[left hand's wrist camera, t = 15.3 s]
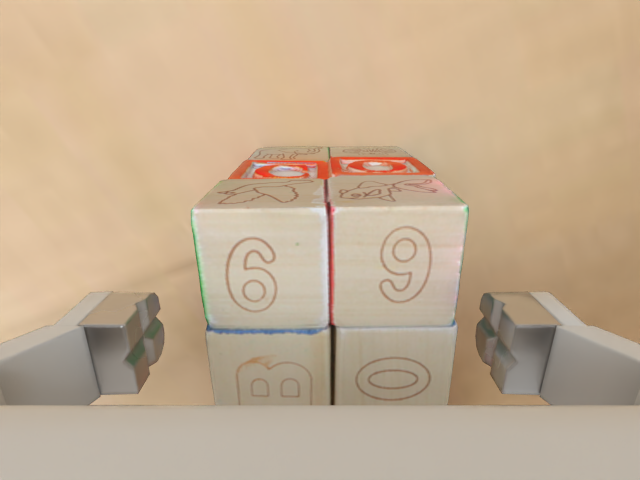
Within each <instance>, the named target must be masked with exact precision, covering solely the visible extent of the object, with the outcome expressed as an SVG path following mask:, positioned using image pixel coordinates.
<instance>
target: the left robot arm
mask: <svg viewBox="0 0 640 480" xmlns="http://www.w3.org/2000/svg"><path fill="white" fill-rule="evenodd" d="M159 310H160V304H159V299H158V296H157V295H156V294H155V293H144V292H113V291H112V292H90V293H89V294H88V295H87V296H86V297H85V298H84V299H83V300H82V301H80V302H79V303H78V304H77V305H76V306H75V307H74V308H73V309H71V310H70V311H69V312H68V313H67V314H66V315H65V316H64V317H62V318H61V319H60V320H59V321H58V322H57V323H56V324H55V325H53V326H44V327H42V328H39V329H37V330H34V331H32V332H29V333H27V334H24V335H22V336H19V337H16V338H14V339H11V340H9V341H6V342H4V343H1V344H0V480H640V344H639V343H636V342H634V341H631V340H629V339H626V338H623V337H621V336H618V335H616V334H613V333H611V332H608V331H606V330H603V329H601V328H598V327H596V326H587V325H585V324H584V323H583V322H582V321H581V320H580V319H579V318H578V317H577V316H575V315H574V314H573V313H572V312H571V311H570V310H569V309H568V308H566V307H565V306H564V305H563V304H562V303H561V302H560V301H559V300H557V299H556V298H555V297H554V296H553V295H552V294H551V293H549V292H545V291H543V292H499V293H485V294H484V295H483V297H482V299H481V303H480V310H481V312H482V313H483V315H484V318H483V319H482V320H481V321H480V322H479V323H478V324H477V329H476V346H477V350H478V353H479V356H480V357H481V359H482V361H483V362H484V363H486V364H487V365H489V366H491V372H490V375H491V376H492V378H493V380H494V381H495V383H496V385H497V386H498V388H499V390H500V391H501V393H502V394H529V395H540V397H541V398H542V399H544V400H545V401H546V402H548V403H549V404H551V405H90V404H91V403H92V402H94V401H95V400H96V399H98V398H99V397H100V395H111V394H138V393H139V391H140V390H141V388H142V386H143V385H144V383H145V381H146V380H147V378H148V376H149V375H150V372H149V366H151V365H153V364H154V363H156V362H157V361H158V359H159V357H160V355H161V354H162V349H163V345H164V328H163V324H162V323H161V322H160V321H159V320H158V319H157V318H156V315H157V313H158V312H159Z"/></svg>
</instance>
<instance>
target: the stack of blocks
mask: <svg viewBox="0 0 640 480" xmlns="http://www.w3.org/2000/svg"><path fill="white" fill-rule="evenodd" d="M468 215H469V208H468V205H467V204H466V203H465V202H463V201H462V200H461V199H460V198H459V197H458V196H457V195H456V194H454V193H453V192H452V191H451V190H450V189H448V188H447V187H446V186H445V185H444V184H443V183H442V182H440V181H439V180H437V179H436V178H435V173H434V172H433V171H431V170H430V169H429V168H428V167H426V166H425V165H424V164H422V163H421V162H420V161H418V160H417V159H415V158H413V157H412V156H411V155H409V154H408V153H406V152H405V151H403V150H402V149H401V148H399V147H270V148H260V149H257V150H256V151H255V152H254V153H253V154H252V155H251V156H250V158H249V159H248V160H246V161H244V162H243V163H242V164H241V165H240V166H239V167H238V168H237V169H236V170H235V171H234V172H233V173H232V174H231V176H230V177H229V178H228V180H223V181H220V182H219V183H218V184H217V185H216V186H215V187H214V188H213V189H212V190H211V191H210V192H208V193H207V194H206V195H205V196H204V197H203V198H202V199H201V200H200V201H199V202H198V203H197V204H196V205H195V206H194V207H193V209H192V210H191V226H192V231H193V237H194V244H195V252H196V259H197V265H198V272H199V279H200V288H201V296H202V302H203V307H204V313H205V318H206V320H207V323H208V325H207V328H206V332H205V333H206V345H207V352H208V359H209V367H210V374H211V381H212V387H213V393H214V400H215V405H448V398H449V391H450V384H451V377H452V369H453V361H454V354H455V346H456V339H457V331H458V326H457V323H456V321H455V319H454V317H455V312H456V307H457V300H458V292H459V284H460V275H461V269H462V262H463V254H464V244H465V239H466V231H467V223H468Z"/></svg>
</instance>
